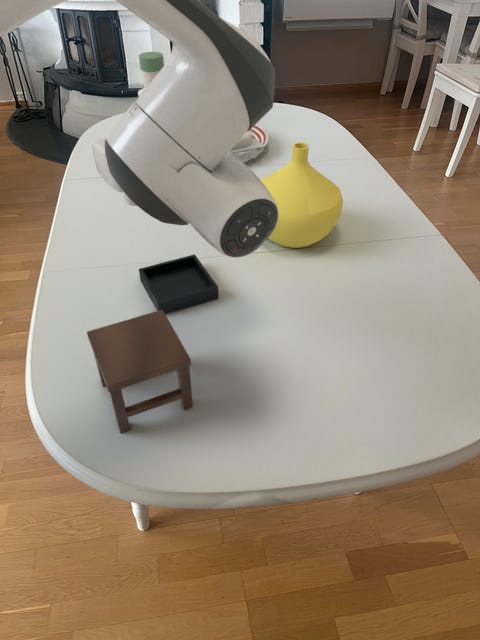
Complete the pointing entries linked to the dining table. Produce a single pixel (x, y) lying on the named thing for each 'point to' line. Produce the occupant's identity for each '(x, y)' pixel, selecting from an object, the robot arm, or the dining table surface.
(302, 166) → the vase
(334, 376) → the dining table surface
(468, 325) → the dining table surface
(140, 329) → the brown wooden stool
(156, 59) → the bottle
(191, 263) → the black square tray
